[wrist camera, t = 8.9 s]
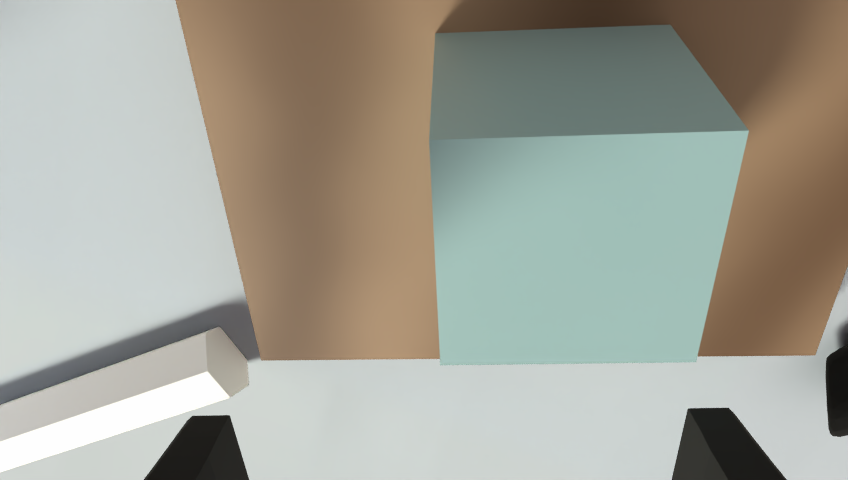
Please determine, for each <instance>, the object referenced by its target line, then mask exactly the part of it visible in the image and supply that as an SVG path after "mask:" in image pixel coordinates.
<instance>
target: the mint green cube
mask: <svg viewBox="0 0 848 480" xmlns="http://www.w3.org/2000/svg"><path fill="white" fill-rule="evenodd" d="M748 133H749V130H748V129H747V127H746V126H745V125H744V123H743V122H742V120H741V119H740V118H739V116H738V115H737V114H736V112H735V111H734V110H733V108H732V107H731V106H730V104H729V103H728V102H727V100H726V99H725V98H724V96H723V95H722V93H721V92H720V91H719V89H718V88H717V87H716V85H715V84H714V83H713V81H712V80H711V79H710V77H709V76H708V75H707V73H706V72H705V71H704V69H703V68H702V67H701V65H700V64H699V62H698V61H697V60H696V58H695V57H694V56H693V54H692V53H691V52H690V50H689V49H688V48H687V46H686V45H685V44H684V42H683V41H682V40H681V38H680V37H679V36H678V34H677V33H676V31H675V30H674V29H673V27H672V26H671V25H645V26H618V27H591V28H564V29H537V30H510V31H483V32H456V33H435V45H434V62H433V80H432V97H431V115H430V132H429V149H430V169H431V189H432V209H433V229H434V249H435V269H436V289H437V309H438V329H439V349H440V365H501V364H582V363H664V362H696V360H697V356H698V351H699V347H700V343H701V338H702V334H703V329H704V325H705V321H706V316H707V312H708V308H709V303H710V299H711V294H712V290H713V286H714V281H715V277H716V273H717V268H718V264H719V260H720V255H721V251H722V246H723V242H724V238H725V233H726V229H727V225H728V220H729V216H730V211H731V207H732V203H733V198H734V194H735V190H736V185H737V181H738V177H739V172H740V168H741V163H742V159H743V155H744V150H745V146H746V142H747V137H748Z"/></svg>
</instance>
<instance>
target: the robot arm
mask: <svg viewBox="0 0 848 480" xmlns="http://www.w3.org/2000/svg"><path fill="white" fill-rule="evenodd" d="M144 480H249V478H248V475H247V471H246V468H245V465H244V461H243V458H242V455H241V451H240V448H239V445H238V442H237V438H236V435H235V432H234V428H233V425H232V422H231V418H230V415H223V416H192V417H191V418H190V419H189V420H188V421H187V422H186V423H185V425H184V426H183V427H182V429H181V430H180V431H179V433H178V434H177V436H176V437H175V438H174V440H173V441H172V442H171V444H170V445H169V446H168V448H167V449H166V451H165V452H164V453H163V455H162V456H161V457H160V459H159V460H158V461H157V463H156V464H155V466H154V467H153V468H152V470H151V471H150V472H149V474H148V475H147V476H146V477H145V479H144ZM672 480H786V478H785V477H784V476H783V475H782V473H781V472H780V471H779V470H778V469H777V467H776V466H775V465H774V464H773V462H772V461H771V460H770V459H769V457H768V456H767V455H766V454H765V452H764V451H763V450H762V449H761V447H760V446H759V445H758V444H757V442H756V441H755V440H754V438H753V437H752V436H751V435H750V433H749V432H748V431H747V429H746V428H745V427H744V426H743V424H742V423H741V422H740V420H739V419H738V418H737V417H736V415H735V414H734V413H733V412H732V411H731V410H730V409H729V408H690V409H688V411H687V415H686V419H685V424H684V428H683V433H682V437H681V441H680V446H679V450H678V455H677V459H676V463H675V468H674V472H673V477H672Z"/></svg>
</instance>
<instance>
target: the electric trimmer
mask: <svg viewBox="0 0 848 480" xmlns="http://www.w3.org/2000/svg"><path fill="white" fill-rule="evenodd" d="M826 393H827V412H828V426H829V431H830V434H831V435H832V436H837V437H841V436H846V435H848V346H845V347H843V348H840V349H838V350H837V351H835V352H833V353H832V354H830V355H829V356H828V357H827V360H826Z"/></svg>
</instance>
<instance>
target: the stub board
mask: <svg viewBox="0 0 848 480" xmlns="http://www.w3.org/2000/svg"><path fill="white" fill-rule="evenodd" d="M176 4H177V8H178V13H179V17H180V21H181V25H182V29H183V34H184V38H185V42H186V46H187V50H188V55H189V59H190V63H191V67H192V71H193V76H194V80H195V84H196V88H197V92H198V97H199V101H200V105H201V109H202V114H203V118H204V122H205V126H206V130H207V135H208V139H209V143H210V147H211V151H212V156H213V160H214V164H215V168H216V172H217V177H218V181H219V185H220V189H221V193H222V198H223V202H224V206H225V210H226V214H227V219H228V223H229V227H230V231H231V235H232V240H233V244H234V248H235V252H236V256H237V261H238V265H239V269H240V273H241V277H242V282H243V286H244V290H245V294H246V299H247V303H248V307H249V311H250V315H251V320H252V324H253V328H254V332H255V336H256V341H257V345H258V349H259V353H260V357H261V360H354V359H440V349H439V329H438V309H437V289H436V269H435V249H434V229H433V209H432V189H431V169H430V149H429V132H430V115H431V97H432V80H433V62H434V45H435V33H456V32H483V31H510V30H537V29H564V28H591V27H618V26H645V25H671V26H672V27H673V29H674V30H675V31H676V33H677V34H678V36H679V37H680V38H681V40H682V41H683V42H684V44H685V45H686V46H687V48H688V49H689V50H690V52H691V53H692V54H693V56H694V57H695V58H696V60H697V61H698V62H699V64H700V65H701V67H702V68H703V69H704V71H705V72H706V73H707V75H708V76H709V77H710V79H711V80H712V81H713V83H714V84H715V85H716V87H717V88H718V89H719V91H720V92H721V93H722V95H723V96H724V98H725V99H726V100H727V102H728V103H729V104H730V106H731V107H732V108H733V110H734V111H735V112H736V114H737V115H738V116H739V118H740V119H741V120H742V122H743V123H744V125H745V126H746V127H747V129H748V130H749V133H748V137H747V142H746V146H745V150H744V155H743V159H742V163H741V168H740V172H739V177H738V181H737V185H736V190H735V194H734V198H733V203H732V207H731V211H730V216H729V220H728V225H727V229H726V233H725V238H724V242H723V246H722V251H721V255H720V260H719V264H718V268H717V273H716V277H715V281H714V286H713V290H712V294H711V299H710V303H709V308H708V312H707V316H706V321H705V325H704V329H703V334H702V338H701V343H700V347H699V351H698V356H792V355H815V354H816V351H817V349H818V346H819V343H820V340H821V338H822V335H823V332H824V329H825V327H826V324H827V321H828V318H829V316H830V313H831V310H832V307H833V305H834V302H835V299H836V296H837V294H838V291H839V288H840V285H841V283H842V280H843V277H844V274H845V272H846V269H847V266H848V0H176Z"/></svg>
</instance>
